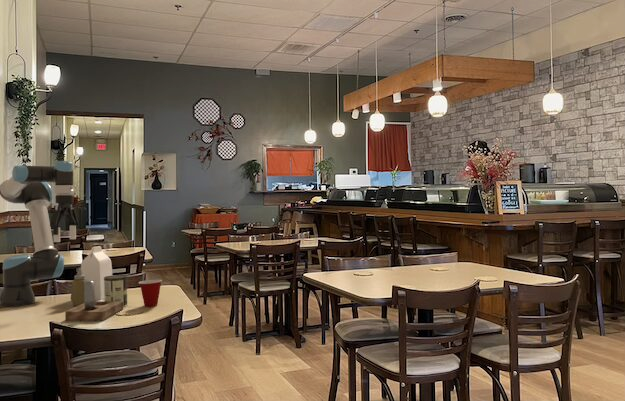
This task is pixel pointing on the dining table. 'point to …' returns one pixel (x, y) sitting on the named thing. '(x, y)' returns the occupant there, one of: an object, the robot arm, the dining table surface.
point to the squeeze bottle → (78, 288)
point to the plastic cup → (150, 292)
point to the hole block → (94, 311)
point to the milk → (97, 270)
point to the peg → (89, 295)
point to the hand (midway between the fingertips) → (65, 240)
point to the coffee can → (116, 288)
